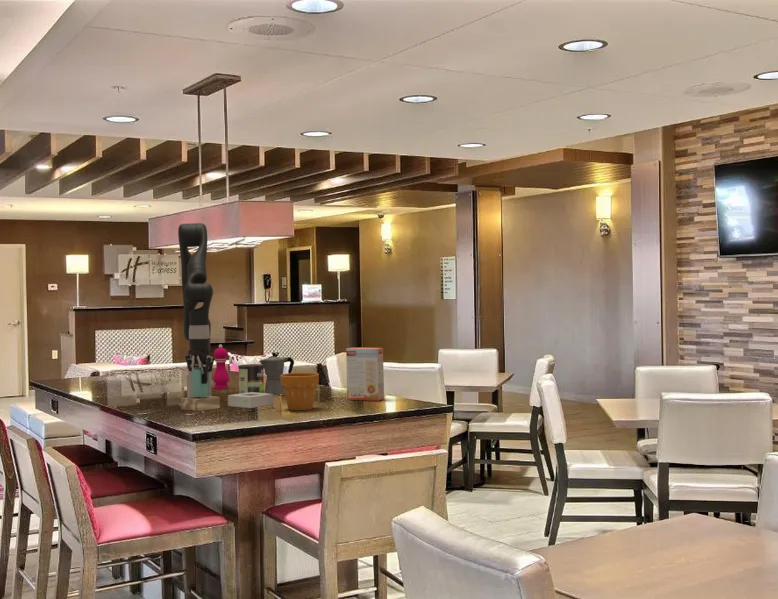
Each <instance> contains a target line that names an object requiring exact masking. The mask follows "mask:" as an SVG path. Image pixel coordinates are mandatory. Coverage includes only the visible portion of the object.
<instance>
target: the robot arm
mask: <svg viewBox="0 0 778 599" xmlns="http://www.w3.org/2000/svg"><path fill="white" fill-rule="evenodd" d="M207 230H208V229H207V227H206V224H204V223H202V222H196V223H181V224H180V225H179V226H178V229H177V234H178V237H177V238H178V245H179V253H180V264H181V269H180V270H181V271H180V272H181V290H182V291H181V292H182V300H183V336H184V339H185V340H187V341H188V349H189V350H188V351H187V355H185V361H186V362H185V363H186V366H187V370H188V371H187V372H188V374H187V375H186V397H193V387H192V369H194V367H200V368H201V373H202V374H201V381H202V384H207V381H208V396H212V371H213V367H214V363H215V356H212V355H211V331H212V328H211V327H212V325H211V320H210V318H209V313H210V307H211V303H212V300H213V295H214V289H213V286H212V285H211V284H210V283H206V282H207V280H208V278H207V277H208V276H207V252H208V231H207ZM195 247H198V248H197V249H196V251H195V252H194V254H193V255H191V254H190V251H189V248H195ZM199 303H203V304H202V305H201V306H200V307H198V308H197V305H198V304H199ZM204 368H205V370H204Z"/></svg>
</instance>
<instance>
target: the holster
mask: <svg viewBox="0 0 778 599" xmlns="http://www.w3.org/2000/svg"><path fill="white" fill-rule="evenodd" d="M220 401H221V398H220V396H213V395H211V396H203V397H195V396H193V397H187V396H186V397H180V410H186V411H194V412H195V411H196V412H201V411H208V410H215V409H220V407H221V402H220Z"/></svg>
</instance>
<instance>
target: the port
mask: <svg viewBox="0 0 778 599" xmlns="http://www.w3.org/2000/svg"><path fill="white" fill-rule="evenodd" d="M269 406H274V396H273V394H267V393H255V392H248V393H241V394H239V393H234V394H230V395H229V394H228V395H227V407H232V408H244V409H254V408H261V407H269Z"/></svg>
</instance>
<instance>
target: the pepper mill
mask: <svg viewBox="0 0 778 599" xmlns="http://www.w3.org/2000/svg"><path fill="white" fill-rule="evenodd" d="M227 356H228V351H227V349H226V348H224V347H223V345H222V344H219V345H218V348H216V349H215V350H214V352H213V357H214V363H216V364H215V365H216V367H215V370H214V373H213V377H212V381H213V382H214V385H213V389H214V388H215V389H214V390H225V389H224V388H228V389H229V384H228V383H229V381H230V376H229V373H228V371H227V368H226V363H227Z"/></svg>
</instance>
